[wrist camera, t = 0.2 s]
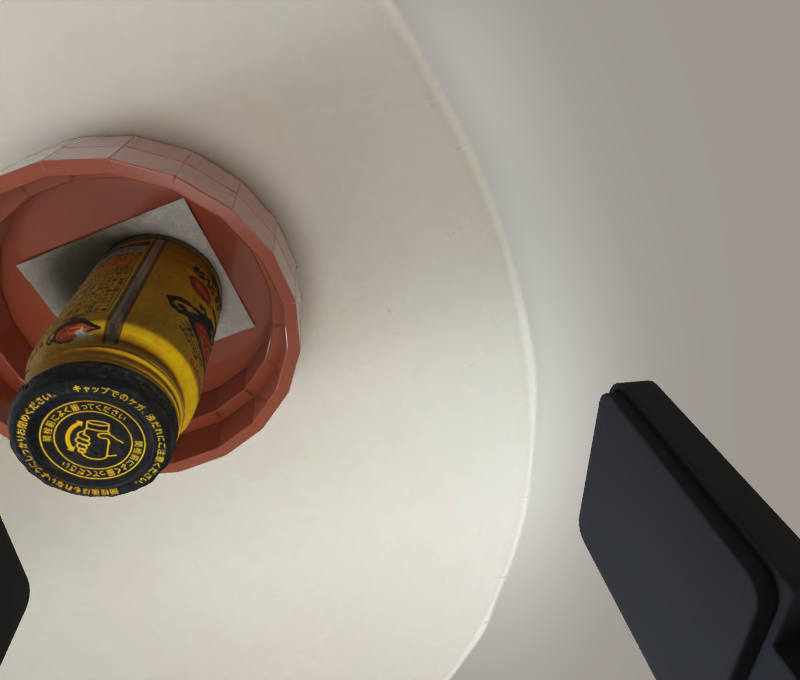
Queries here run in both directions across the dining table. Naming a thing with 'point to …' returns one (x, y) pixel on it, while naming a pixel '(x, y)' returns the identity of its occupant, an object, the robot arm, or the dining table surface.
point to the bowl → (130, 197)
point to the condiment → (121, 352)
